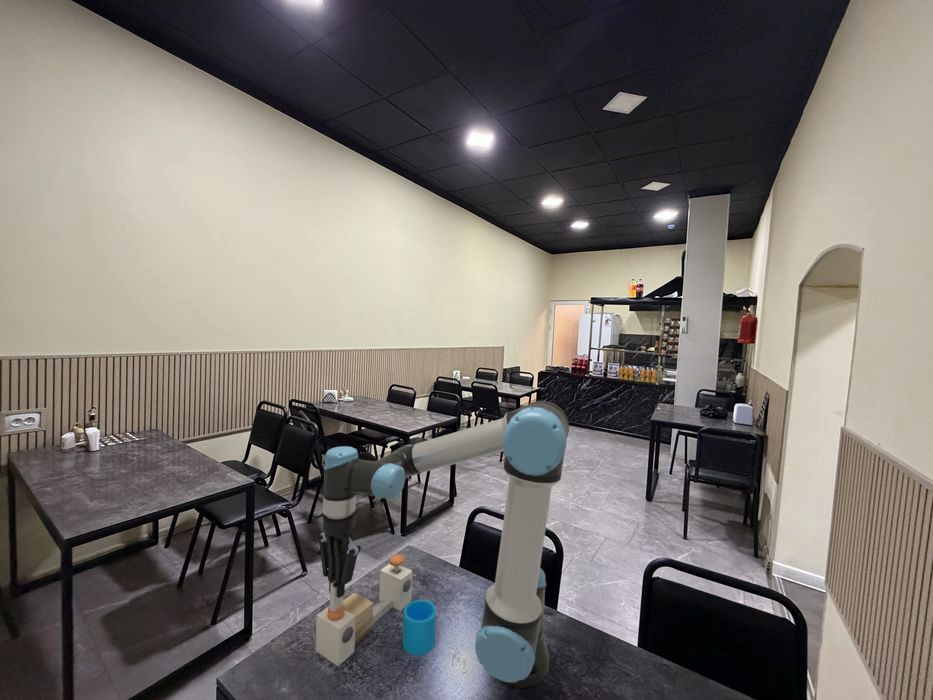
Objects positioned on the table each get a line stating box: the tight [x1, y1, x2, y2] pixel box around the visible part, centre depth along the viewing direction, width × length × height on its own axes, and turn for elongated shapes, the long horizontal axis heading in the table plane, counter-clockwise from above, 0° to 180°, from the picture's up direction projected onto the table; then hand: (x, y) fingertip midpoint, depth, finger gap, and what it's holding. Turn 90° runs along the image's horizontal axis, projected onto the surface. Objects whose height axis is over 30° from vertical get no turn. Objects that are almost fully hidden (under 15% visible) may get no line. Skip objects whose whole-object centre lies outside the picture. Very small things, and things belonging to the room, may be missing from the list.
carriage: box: [343, 592, 374, 645], centre depth 99 cm, size 7×6×8 cm
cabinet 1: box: [315, 605, 356, 667], centre depth 94 cm, size 8×5×9 cm, turn 59°
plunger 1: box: [328, 604, 345, 620], centre depth 94 cm, size 4×4×5 cm
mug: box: [402, 599, 437, 656], centre depth 100 cm, size 12×8×8 cm
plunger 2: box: [389, 554, 405, 574], centre depth 112 cm, size 4×4×5 cm
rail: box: [373, 597, 393, 625], centre depth 103 cm, size 2×17×2 cm, turn 149°
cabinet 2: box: [378, 563, 413, 612], centre depth 113 cm, size 8×5×9 cm, turn 59°
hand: (336, 607), depth 94 cm, fingers closed
